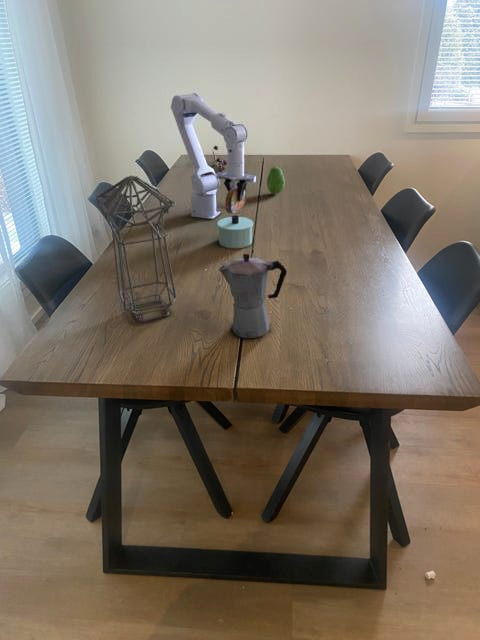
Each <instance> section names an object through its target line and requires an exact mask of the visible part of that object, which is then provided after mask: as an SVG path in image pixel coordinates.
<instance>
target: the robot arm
mask: <svg viewBox="0 0 480 640" xmlns="http://www.w3.org/2000/svg"><path fill="white" fill-rule="evenodd" d="M170 109H171V112H172V114H173V117H174V120H175V123H176V127H177V129H178V131H179V134H180V138H181V139H182V142H183V145H184V148H185V150H186V153H187V155H188V159H189V161H190V164H191V166H192V169H193V171H192V173H191V175H190V180H191V186H192V190H193V192H192V193H191V196H190V208H191V210H190V211H191V214H190V217H194V218H199V219H200V218H201V219H207V220H214V219H215V218H217V216H219V215H220V214H221V211H219V210H218V211H217V196H216V194H217V192H218V189H219V188H220V184H221V182H220V180H225V181H223V184H224V186H225V188H226V190H227V193H228V192H229V191H230V190H231V189H232V188H233V187H234V186H235V185H237V188H238V201H239V202H240V201H242V197H243V193H244V190H245V187H246V188H247V186H248V183H252V184H254V183H256V182H257V176H256V175H252V174H247V173H245V142H246V140H247V139H248V130H247V128H246V127H245V125H244V124H242V123H239V124H238V123H236V122H235V121H234V120H231V119H230V118H229V117H227V115H226V113H224V112H215V111H214V110H213V109H212V108H211V107H210V106H209V105H208V104H207V103H205V102H204V101H203V98H202V96H200V95H199V94H198V93H195V92H193V93H190V94H181V95H178V94H176V95H174V96H173V97H172V99H171V103H170ZM198 115H199V116H201V117H202V118H204V119H205V120H207V121H208V122H209V123H210V125H211V128H212V129H213V130H214V131H216V132H217V133H218V134H220V135H221V136H222V137H223V141H224V143H225V147H226V149H227V172H217V173H216V172H215V168H214V169H212V168H211V167H212V166H209V165H208V163H207V161H206V157H205V155H204V153H203V151H202V147H201V145H200V142H199V139H198V137H197V134H196V131H195V129H194V125H193V123H194V120H196V119H197V116H198ZM236 181H238V182H236Z"/></svg>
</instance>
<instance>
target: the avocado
mask: <svg viewBox="0 0 480 640" xmlns="http://www.w3.org/2000/svg"><path fill="white" fill-rule="evenodd" d="M285 184H286V180H285V175H284V174H283V171H282V169H281V168H280V167H279V166H276V165H275V166H273V167H272V168H270V171H269V172H268V176H267V179H266V187H267V190H268V192H269V193H270V194H273V195H277V194H280V193H281V192H282V191H283V190H284V187H285Z"/></svg>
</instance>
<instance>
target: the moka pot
mask: <svg viewBox="0 0 480 640" xmlns="http://www.w3.org/2000/svg"><path fill="white" fill-rule="evenodd" d="M277 269H278V270H280V273H279V277H278V279H277V283H276V288H275V290H274V292H273V293H271V294H268V295H267V297H268V299H277V298H279V295H280V292H281V290H282V286H283V283H284V281H285V279H286V275H287V268H286V267H285V265H282V263H281V262H280V261H279V260H274V261H264V260H263V259H262V258H258V257H250V253H244V254H242V257H241V258H236V259H232V260H231V261H230V262H229V263H225V264H222V266H220V267H219V268H218V271H219V272H220V273H221V274H222V276H223V277H224V279H225V281H226V283H227V284H228V285H229V289H230V294H231V296H232V297H233V302H234V303H233V304H232V305H233V317H232V331H233V332H234V334H235V335H236V336H238V337H240V338H242V339H243V338H245V339H255V338H259V337H262V336H265V334H267V333H268V332H269V329H270V323H269V322H270V321H269V317H268V312H267V307H266V302H265V299H266V295H265V294H266V291H267V283H268V282H267V281H268V272H269V271H274V270H277Z"/></svg>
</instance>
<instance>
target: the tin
mask: <svg viewBox="0 0 480 640" xmlns="http://www.w3.org/2000/svg"><path fill="white" fill-rule="evenodd" d="M246 200H247V186H246V187H245V190H244V193H243V197H242V201H240V202H239V201H238V188H237V184H235V186H234V187H233V188H232V189H231V190H230V191H229V192H228V191H227V193H226V196H225V211H226V213H228V214H232V215H235V214H236V213H238V212H239V211H240V210H241V209H242V208H243V206H244V205H245V204H246Z"/></svg>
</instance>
